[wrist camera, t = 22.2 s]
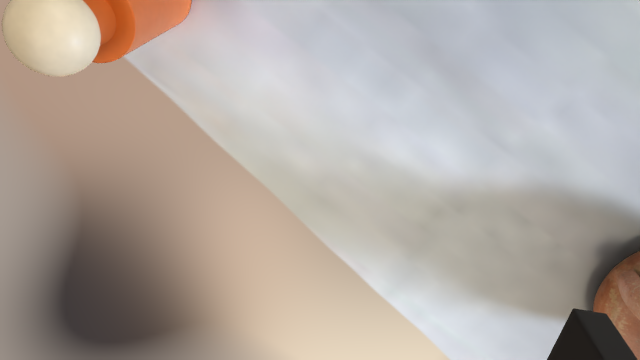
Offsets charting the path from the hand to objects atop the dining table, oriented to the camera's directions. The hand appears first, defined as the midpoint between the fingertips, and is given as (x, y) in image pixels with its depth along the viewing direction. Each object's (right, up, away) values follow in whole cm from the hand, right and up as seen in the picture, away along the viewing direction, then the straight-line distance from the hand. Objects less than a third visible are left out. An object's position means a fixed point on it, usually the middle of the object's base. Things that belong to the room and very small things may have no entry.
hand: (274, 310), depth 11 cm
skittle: (-12, +18, +28) cm, 35 cm away
